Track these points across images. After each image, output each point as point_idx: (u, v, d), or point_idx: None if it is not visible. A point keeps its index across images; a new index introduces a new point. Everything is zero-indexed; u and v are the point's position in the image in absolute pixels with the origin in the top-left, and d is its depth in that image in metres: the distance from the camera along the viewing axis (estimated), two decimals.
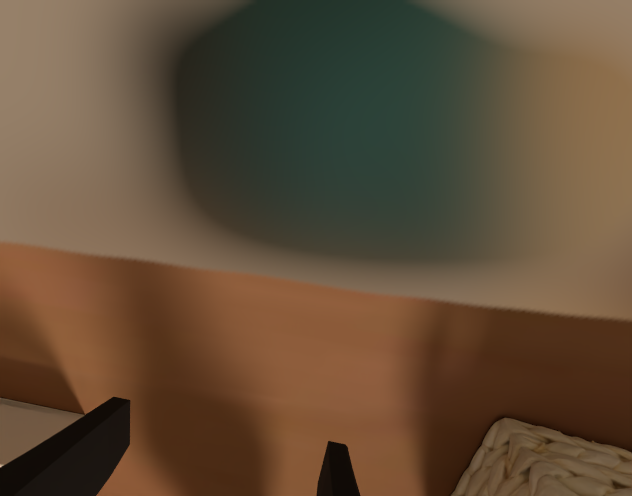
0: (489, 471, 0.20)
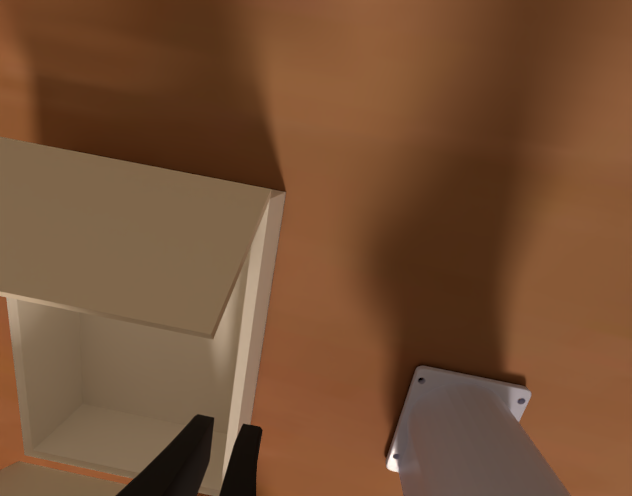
0: None
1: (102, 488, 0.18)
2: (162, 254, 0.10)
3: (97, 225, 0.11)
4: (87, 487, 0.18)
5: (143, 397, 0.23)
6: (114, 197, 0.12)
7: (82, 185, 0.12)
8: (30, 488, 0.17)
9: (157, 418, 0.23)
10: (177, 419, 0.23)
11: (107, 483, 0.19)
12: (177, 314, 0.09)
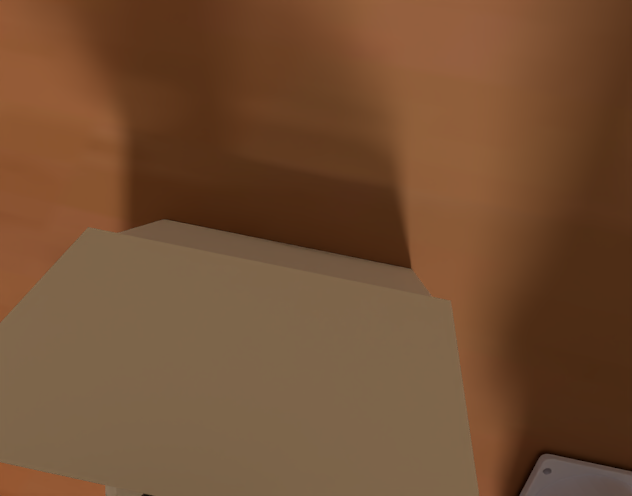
0: None
1: None
2: (374, 421, 0.08)
3: (281, 375, 0.09)
4: None
5: None
6: (283, 325, 0.10)
7: (240, 308, 0.10)
8: None
9: None
10: None
11: None
12: None
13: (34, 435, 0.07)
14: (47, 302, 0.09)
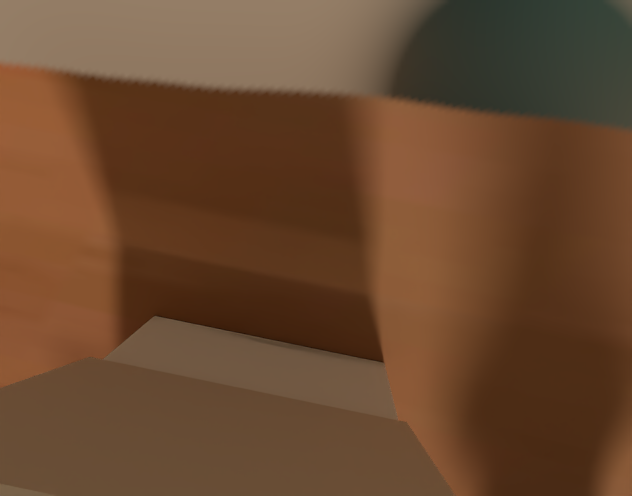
0: None
1: None
2: (363, 480, 0.08)
3: (267, 446, 0.09)
4: None
5: None
6: (265, 419, 0.11)
7: (225, 407, 0.11)
8: None
9: None
10: None
11: None
12: None
13: (3, 458, 0.07)
14: (41, 386, 0.10)
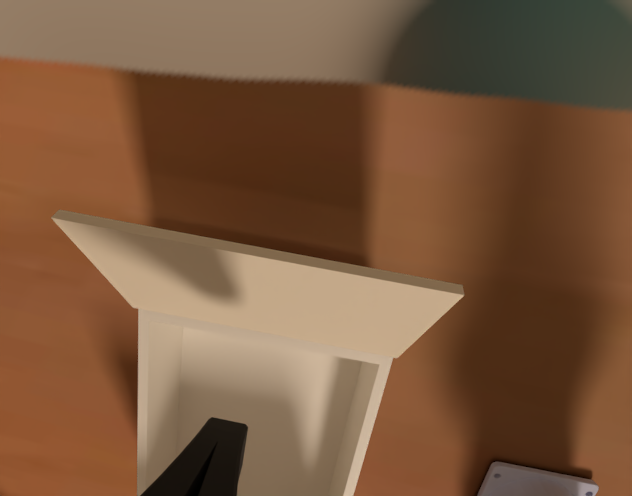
0: None
1: None
2: None
3: None
4: None
5: None
6: None
7: None
8: None
9: None
10: None
11: None
12: None
13: None
14: None
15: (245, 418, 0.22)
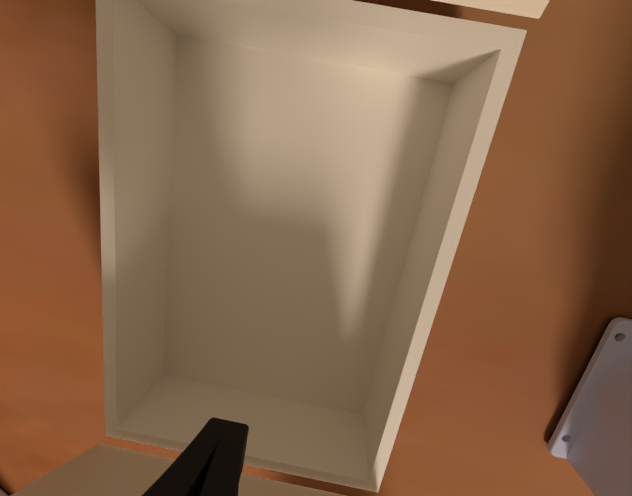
0: None
1: None
2: None
3: None
4: None
5: (241, 365, 0.18)
6: None
7: None
8: (128, 478, 0.12)
9: (257, 393, 0.18)
10: (283, 393, 0.18)
11: None
12: None
13: None
14: None
15: (261, 255, 0.16)
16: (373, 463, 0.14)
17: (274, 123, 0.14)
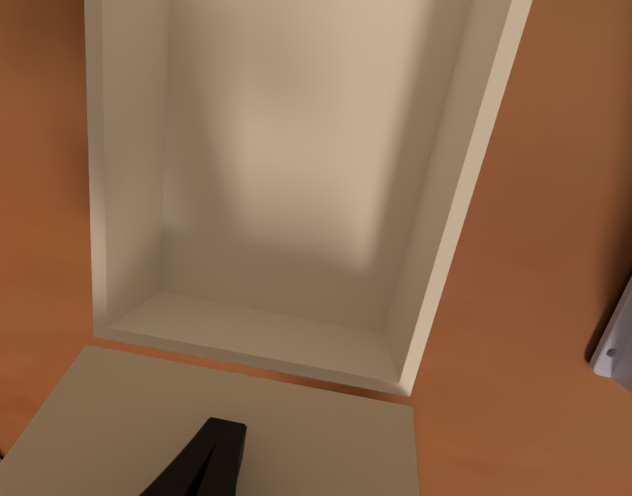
0: None
1: (223, 394, 0.12)
2: None
3: None
4: (201, 394, 0.12)
5: (249, 276, 0.16)
6: None
7: None
8: (120, 413, 0.11)
9: (266, 310, 0.16)
10: (295, 309, 0.16)
11: (226, 379, 0.12)
12: None
13: None
14: None
15: (272, 139, 0.14)
16: (405, 360, 0.12)
17: None
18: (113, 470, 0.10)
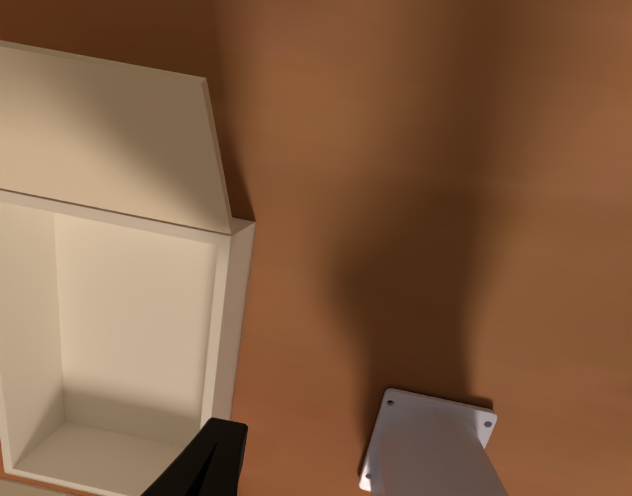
0: None
1: None
2: None
3: None
4: None
5: (122, 415, 0.23)
6: None
7: None
8: None
9: (136, 436, 0.24)
10: (155, 437, 0.24)
11: None
12: None
13: None
14: None
15: (127, 338, 0.21)
16: None
17: (125, 250, 0.20)
18: None
